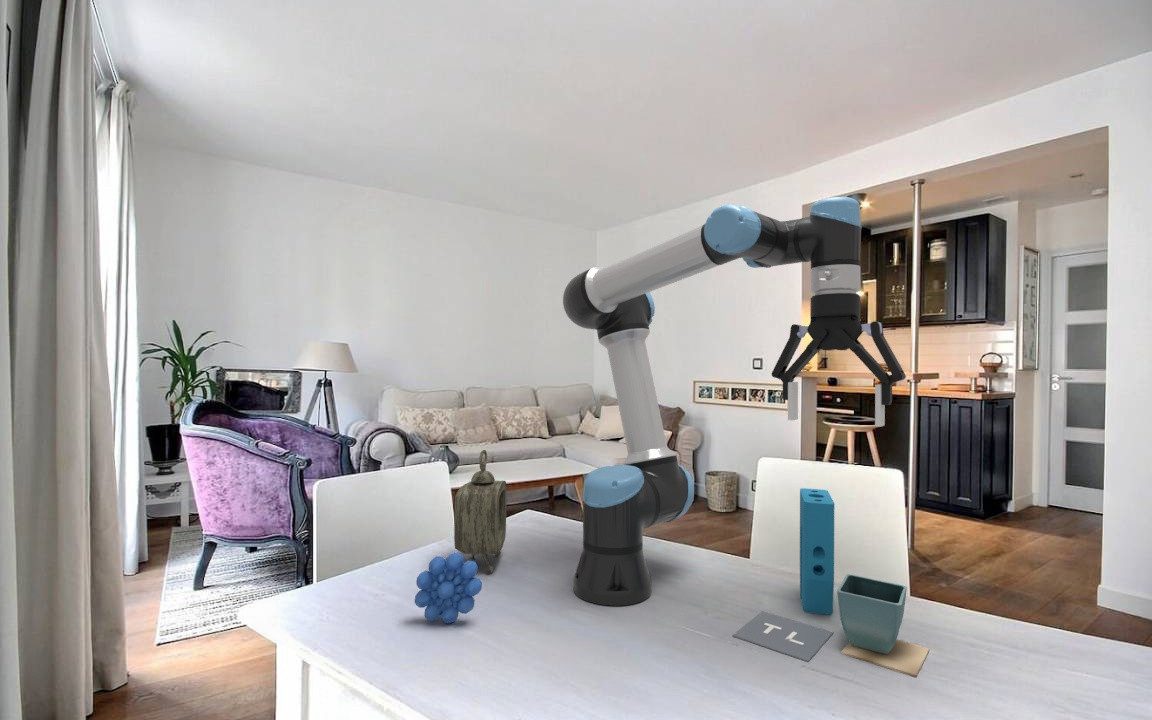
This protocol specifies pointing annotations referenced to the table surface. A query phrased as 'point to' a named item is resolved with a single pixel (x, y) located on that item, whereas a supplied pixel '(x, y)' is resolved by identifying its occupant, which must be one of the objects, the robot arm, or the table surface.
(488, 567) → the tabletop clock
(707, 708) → the table surface
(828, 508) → the block
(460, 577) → the blue ball flower
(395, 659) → the table surface
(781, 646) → the tile
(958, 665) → the table surface
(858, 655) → the cork mat
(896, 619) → the flower pot
